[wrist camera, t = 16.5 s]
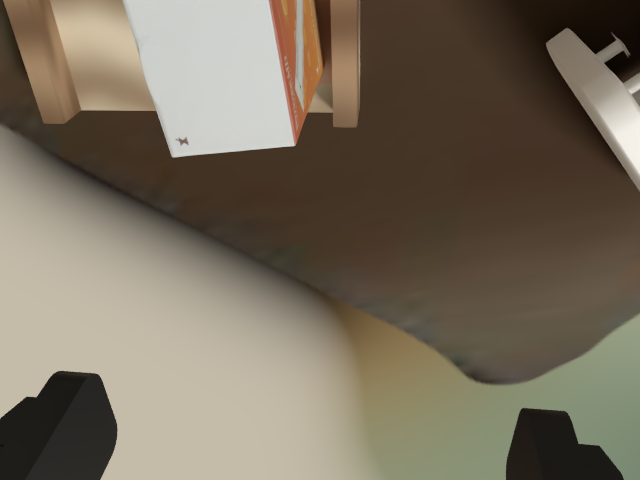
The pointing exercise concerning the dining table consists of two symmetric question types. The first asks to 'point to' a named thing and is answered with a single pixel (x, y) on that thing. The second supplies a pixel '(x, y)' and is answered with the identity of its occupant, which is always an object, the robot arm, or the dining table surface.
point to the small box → (228, 70)
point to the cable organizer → (603, 95)
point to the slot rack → (125, 67)
